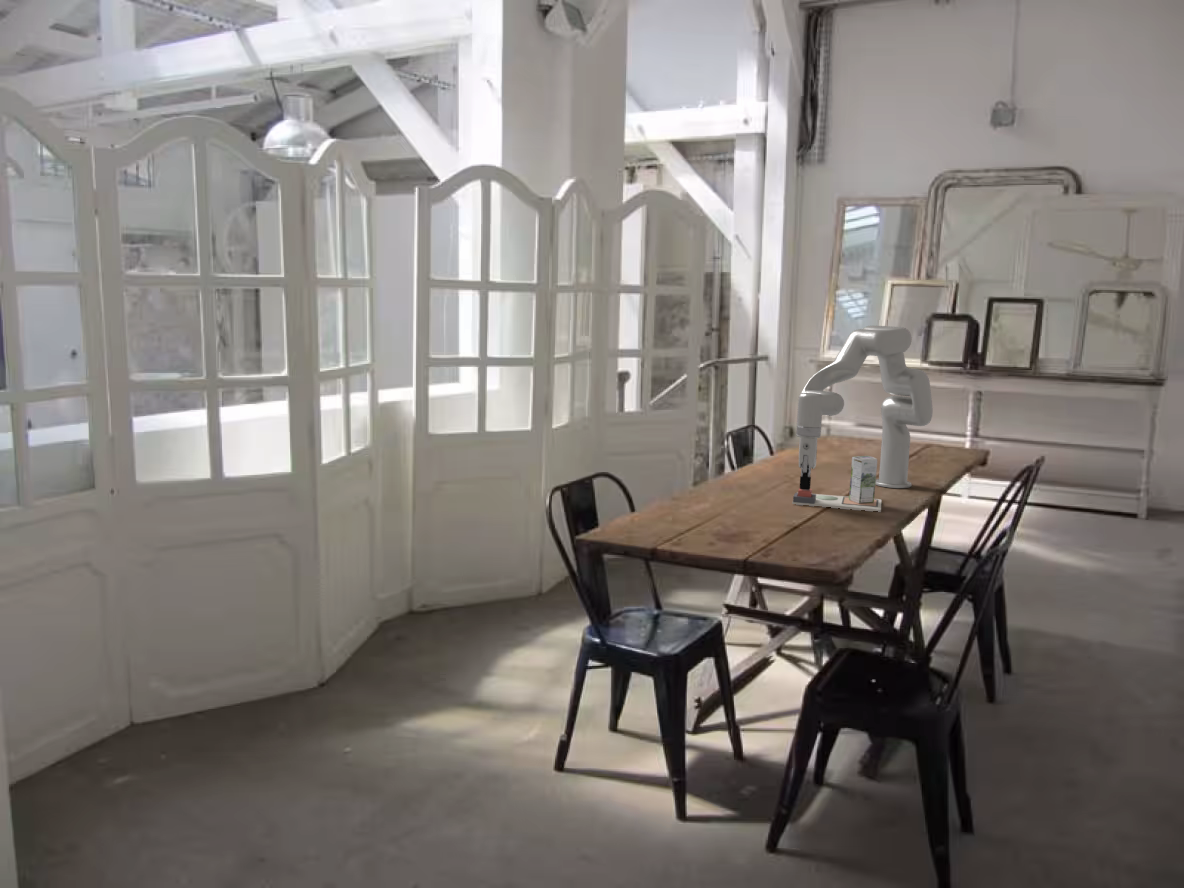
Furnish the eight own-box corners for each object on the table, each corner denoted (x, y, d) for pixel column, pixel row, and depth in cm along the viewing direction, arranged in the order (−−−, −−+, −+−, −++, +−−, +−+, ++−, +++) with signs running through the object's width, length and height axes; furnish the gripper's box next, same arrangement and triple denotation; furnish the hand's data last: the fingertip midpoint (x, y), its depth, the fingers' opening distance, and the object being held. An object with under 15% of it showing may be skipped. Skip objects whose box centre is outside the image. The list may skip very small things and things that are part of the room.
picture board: (796, 494, 326) (797, 487, 325) (881, 501, 318) (881, 493, 318) (792, 504, 311) (792, 496, 310) (880, 512, 303) (881, 503, 303)
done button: (799, 494, 315) (799, 488, 315) (811, 495, 314) (812, 489, 314) (797, 496, 311) (798, 490, 311) (810, 497, 310) (811, 491, 310)
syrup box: (863, 499, 317) (866, 455, 315) (874, 503, 312) (877, 458, 309) (848, 500, 315) (851, 455, 313) (859, 504, 310) (862, 458, 307)
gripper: (819, 435, 301) (815, 494, 304) (822, 429, 315) (818, 485, 318) (794, 434, 303) (790, 492, 306) (798, 428, 318) (795, 483, 320)
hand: (804, 488), depth 312 cm, fingers closed
